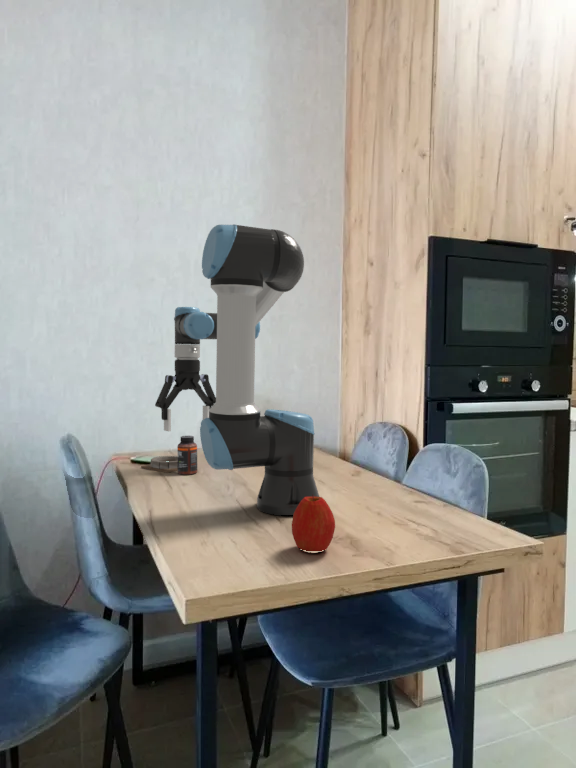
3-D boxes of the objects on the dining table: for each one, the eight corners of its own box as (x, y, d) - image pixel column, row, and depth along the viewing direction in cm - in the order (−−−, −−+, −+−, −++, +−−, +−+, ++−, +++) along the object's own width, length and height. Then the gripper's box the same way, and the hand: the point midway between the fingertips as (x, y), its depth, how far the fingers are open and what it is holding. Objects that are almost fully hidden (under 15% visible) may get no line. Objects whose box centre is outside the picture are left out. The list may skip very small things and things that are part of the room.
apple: (332, 542, 107) (333, 488, 106) (337, 558, 98) (338, 499, 98) (290, 542, 106) (291, 488, 106) (292, 558, 98) (292, 499, 98)
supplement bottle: (199, 471, 168) (199, 435, 168) (194, 475, 162) (194, 438, 162) (180, 470, 169) (180, 434, 168) (175, 475, 163) (174, 437, 162)
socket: (168, 472, 166) (168, 464, 166) (141, 467, 172) (141, 459, 172) (195, 466, 176) (195, 458, 176) (168, 461, 182) (168, 454, 182)
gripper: (156, 359, 152) (156, 434, 154) (228, 359, 169) (227, 426, 171) (143, 358, 158) (143, 431, 159) (214, 358, 175) (214, 423, 176)
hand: (187, 428), depth 165 cm, fingers open, 13 cm apart
